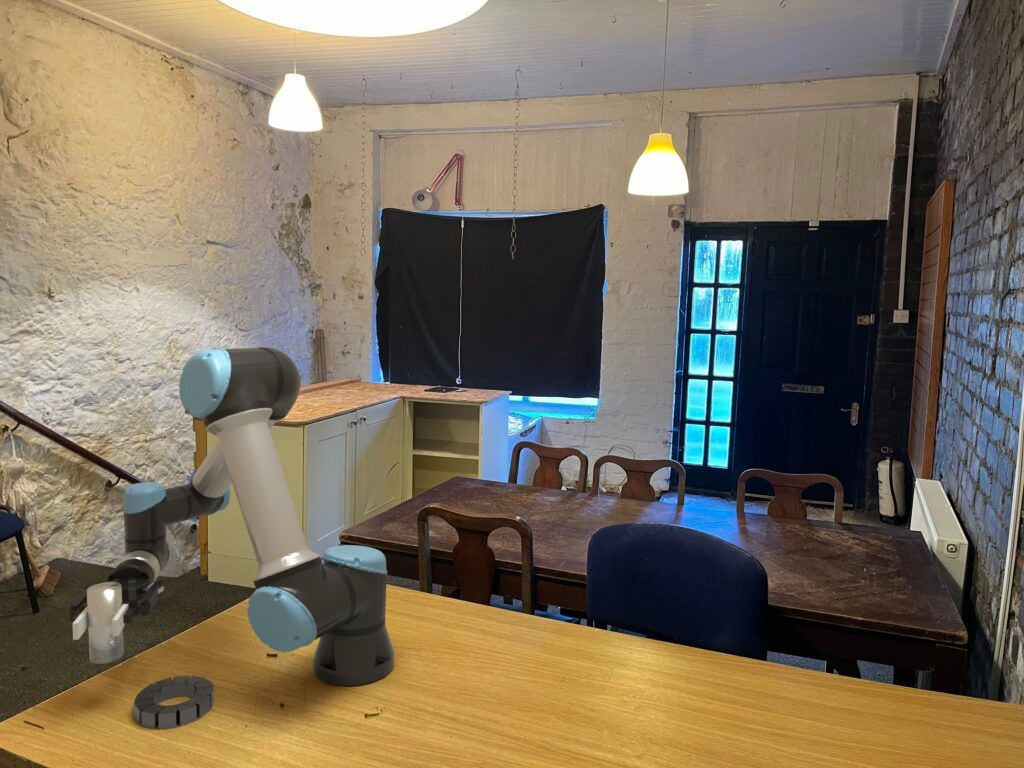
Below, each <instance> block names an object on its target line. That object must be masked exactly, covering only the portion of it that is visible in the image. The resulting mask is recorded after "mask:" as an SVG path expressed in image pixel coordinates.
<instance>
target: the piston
mask: <svg viewBox="0 0 1024 768" xmlns="http://www.w3.org/2000/svg"><path fill="white" fill-rule="evenodd" d="M87 606H88V628H87V629H88V630H87V631H88V652H89V653H88V654H89V662H90V663H92V664H99V665H101V664H108V663H112V662H115V661H117V660H119V659H120V658H122V657H123V656H124V653H125V649H124V628H123V629H122V631H121V632H120V634H119V635H118V636H114V637H113V630H112V620H113V619H114V617H115V616H116V614H117V613H118V611H119V610H120V608H121V607H122V606H123V603H122V588H121V584H120V583H118V582H106V581H105V582H101V583H97V584H93V585H90V587H89V588H88V589H87Z"/></svg>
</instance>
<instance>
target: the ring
mask: <svg viewBox="0 0 1024 768" xmlns="http://www.w3.org/2000/svg"><path fill="white" fill-rule="evenodd" d="M178 697H188V698H190V699H188V700H185V701H183V702H180V703H178V704H169V705H162V704H160V703H162V702H163V701H167V700H170V699H172V698H178ZM214 703H215V685H214V683H213V682H212V681H211V680H210V679H208V678H206V676H205V677H204V676H200V675H190V674H187V675H175V676H173V678H172V677H167V678H163V679H160V680H158V681H154V683H151V684H149V685H147V686H146V687H144V688H143V689H141V690H140V691H139V693H138V692H137V694H136V697H135V699H134V701H133V717H134V720H135V721H136V723H138V725H139V726H140V725H141V727H145V728H149V729H153V730H155V729H157V728H158V730H164V729H165V730H166V729H173V728H177V726H178V725H179V727H182V726H185V725H187V724H188V725H189V723H194V722H196V721H197V720H198V719H201V718H202V717H204V716H205V715H207V713H209V712H210V711H211V709H212V708H213V706H214Z"/></svg>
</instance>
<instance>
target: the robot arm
mask: <svg viewBox="0 0 1024 768" xmlns="http://www.w3.org/2000/svg"><path fill="white" fill-rule="evenodd" d="M178 385H179V389H178V391H179V397H180V402H181V405H182V407H183V409H184V410H185V412H186V413H188V414H189V415H190V416H191V417H194V418H197V419H202V421H203V422H202V423H203V425H204V428H205V431H206V432H207V433H209V434H211V435H213V436H216V438H218V439H217V440H216V442H215V443H214V444H213V446H212V447H211V449H210V450H209V452H208V454H207V455H206V457H204V460H203V461H202V463H201V464H200V465H199V467H198V468H197V470H196V472H195V473H194V474H193V476H192V477H191V478H190V480H189V482H188V483H186V484H183V485H182V484H181V485H177V486H173V487H168V488H165V485H164V484H163V483H161V482H157V481H145V482H138V483H133V484H131V485H129V486H128V485H127V487H126V488H125V489H124V492H123V500H122V501H123V503H122V504H123V505H122V510H123V511H122V512H123V522H124V523H123V524H124V557H123V558H122V559H121V560H120V561H119V563H117V565H116V566H115V568H113V569H112V571H111V573H110V574H109V575H108V578H107V579H106V581H105V582H118V583H120V584H121V588H122V607H121V608H120V610H119V611H118V613H117V614H116V616H115V617H114V619H113V620H112V630H113V637H114V636H118V635H119V634H120V632H121V631H122V629H123V630H124V628H125V626H126V624H131V623H132V622H133V621H134V619H135V618H137V617H138V615H142V616H143V617H144V616H148V615H150V614H151V612H152V610H153V609H154V607H155V605H156V603H157V602H158V599H159V598H161V597H162V596H163V595H165V591H164V590H165V587H164V583H165V582H164V580H157V579H158V577H159V576H160V574H161V572H162V571H163V570H164V569H165V568H166V566H167V565H168V561H169V560H170V556H171V546H170V544H169V542H168V541H167V526H170V525H175V524H178V523H182V522H184V521H188V520H193V519H196V518H197V519H198V518H200V517H205V516H209V515H210V516H211V515H213V514H215V513H218V512H220V511H223V510H225V509H226V508H227V507H228V506H229V504H230V499H231V489H230V487H231V485H232V486H233V489H234V492H235V496H236V499H237V502H238V505H239V509H240V512H241V514H242V518H243V521H244V524H245V527H246V531H247V534H248V537H249V540H250V543H251V546H252V549H253V553H254V555H255V558H256V562H257V565H258V568H257V570H256V571H257V572H256V573H255V574H254V577H253V578H252V582H253V584H254V588H255V591H254V592H253V593H252V594H251V595H250V597H249V599H248V603H247V605H248V607H247V608H246V609H247V610H246V611H247V618H248V622H249V624H250V627H251V629H252V630H253V632H254V633H255V635H256V637H257V638H258V639H259V641H261V643H263V645H265V646H268V647H269V648H270V649H272V650H273V651H276V652H279V653H280V652H281V653H290V652H292V651H293V652H294V651H295V650H298V649H300V648H303V647H305V646H309V645H311V644H312V643H313V642H314V641H315V640H318V639H319V641H318V643H317V647H316V649H315V652H314V656H313V673H314V675H315V676H316V678H318V680H320V681H322V682H324V683H327V684H330V685H334V686H341V687H343V686H344V687H352V686H362V685H366V684H371V683H374V682H377V681H378V680H381V679H383V678H385V677H386V676H388V675H389V673H390V672H391V671H392V670H393V669H394V665H395V650H394V648H393V645H392V641H391V639H390V635H389V631H388V629H387V625H386V615H387V613H386V611H387V578H388V577H387V575H388V570H387V559H386V555H385V554H384V553H383V552H382V551H381V550H379V549H376V548H373V547H369V546H364V545H355V544H354V545H352V544H351V545H350V544H346V545H344V544H343V545H335V546H332V547H328V548H327V549H325V551H324V554H323V556H322V559H321V556H320V555H321V554H318V553H316V552H314V551H312V550H311V549H310V548H309V547H308V544H307V542H306V539H305V535H304V532H303V529H302V526H301V523H300V520H299V517H298V514H297V510H296V507H295V505H294V502H293V499H292V495H291V493H290V490H289V486H288V483H287V481H286V477H285V474H284V470H283V467H282V464H281V462H280V458H279V456H278V452H277V449H276V446H275V443H274V442H275V441H274V440H273V437H272V433H271V429H272V427H273V426H274V425H275V424H276V422H278V421H282V420H284V419H285V418H286V417H287V416H288V415H289V413H290V411H291V410H292V409H293V407H294V405H295V403H296V401H297V399H298V397H299V394H300V390H301V389H300V388H301V375H300V373H299V369H298V367H297V365H296V363H295V362H294V361H293V359H292V358H291V357H289V355H287V354H286V353H285V352H283V351H282V350H278V349H276V348H273V347H267V346H264V347H263V346H262V347H261V346H260V347H259V346H258V347H248V348H247V347H246V348H245V347H244V348H221V347H219V348H214V349H209V350H208V349H207V350H201V351H198V352H196V353H195V354H193V355H192V356H191V357H189V359H187V361H186V363H185V364H184V366H183V368H182V372H181V374H180V378H179V384H178ZM322 560H323V561H322ZM89 587H91V585H85V586H82V591H81V592H80V593H79V594H78V596H76V598H75V599H74V600H73V601H72V602H71V603H70V605H69V606H68V615H69V621H70V622H72V640H73V641H77V640H79V639H80V638H81V637H82V635H83V634H84V633H85V632H86V630H87V629H88V606H87V589H88V588H89ZM139 601H141V602H140V603H139Z"/></svg>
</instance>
